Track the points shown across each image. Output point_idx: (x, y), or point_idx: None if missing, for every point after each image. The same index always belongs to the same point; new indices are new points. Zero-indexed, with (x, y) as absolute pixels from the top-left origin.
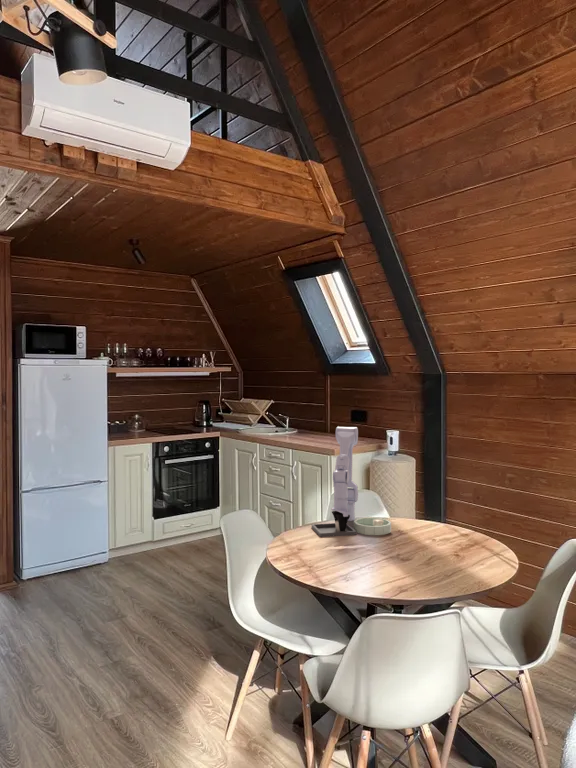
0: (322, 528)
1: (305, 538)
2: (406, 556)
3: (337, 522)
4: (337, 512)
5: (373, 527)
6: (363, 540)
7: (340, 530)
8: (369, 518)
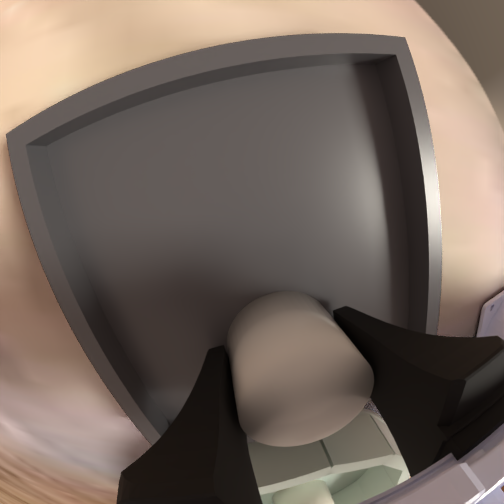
0: (368, 151)
1: (95, 4)
2: (10, 480)
3: (257, 381)
4: (437, 435)
5: None
6: (119, 442)
7: (206, 355)
8: (395, 482)
